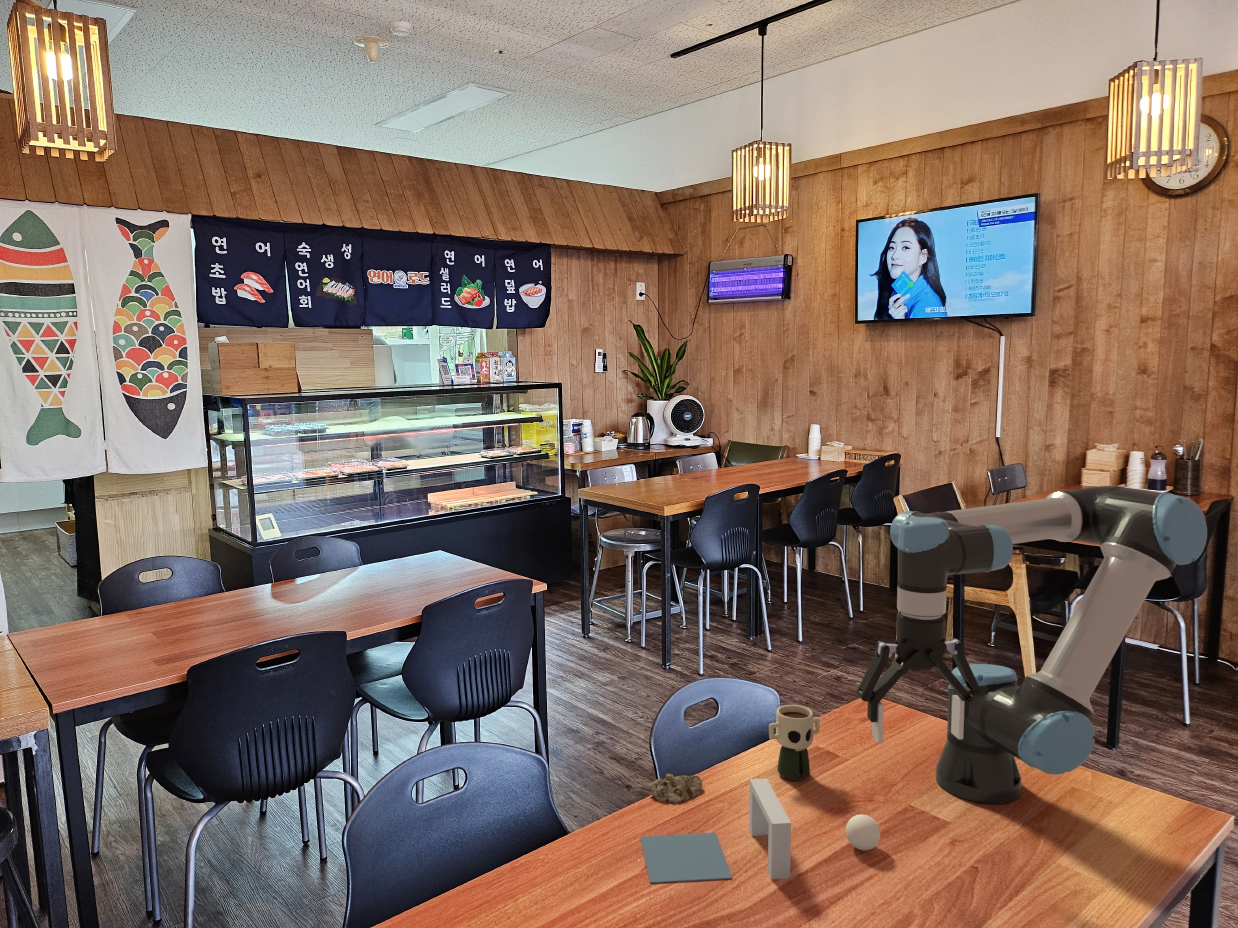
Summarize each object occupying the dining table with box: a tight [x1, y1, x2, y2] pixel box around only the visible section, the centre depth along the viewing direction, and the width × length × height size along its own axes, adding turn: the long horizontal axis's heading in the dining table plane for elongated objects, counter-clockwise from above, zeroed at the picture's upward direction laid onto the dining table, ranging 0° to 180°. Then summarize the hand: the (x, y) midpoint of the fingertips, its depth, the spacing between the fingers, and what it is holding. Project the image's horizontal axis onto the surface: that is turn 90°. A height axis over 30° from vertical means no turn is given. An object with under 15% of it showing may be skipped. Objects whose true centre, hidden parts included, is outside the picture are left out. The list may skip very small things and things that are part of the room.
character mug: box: [768, 704, 821, 781], centre depth 166 cm, size 11×7×13 cm, turn 107°
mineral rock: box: [647, 773, 704, 804], centre depth 161 cm, size 11×4×8 cm
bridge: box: [748, 778, 792, 880], centre depth 140 cm, size 3×14×9 cm, turn 5°
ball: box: [845, 814, 881, 851], centre depth 142 cm, size 6×6×6 cm
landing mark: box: [639, 832, 733, 884], centre depth 139 cm, size 13×13×1 cm
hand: (917, 737), depth 141 cm, fingers open, 13 cm apart
